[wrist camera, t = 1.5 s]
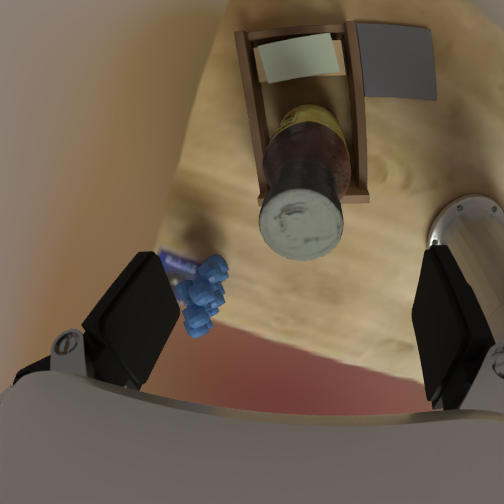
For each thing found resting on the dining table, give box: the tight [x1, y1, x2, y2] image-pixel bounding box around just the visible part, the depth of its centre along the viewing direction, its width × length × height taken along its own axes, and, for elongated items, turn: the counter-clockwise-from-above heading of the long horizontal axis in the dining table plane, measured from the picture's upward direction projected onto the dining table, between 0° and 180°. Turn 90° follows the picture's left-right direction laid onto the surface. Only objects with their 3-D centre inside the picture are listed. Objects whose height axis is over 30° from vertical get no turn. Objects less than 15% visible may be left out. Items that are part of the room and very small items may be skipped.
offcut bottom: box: [253, 40, 346, 82], centre depth 24 cm, size 8×4×4 cm, turn 100°
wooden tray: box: [234, 21, 370, 206], centre depth 26 cm, size 11×17×6 cm, turn 9°
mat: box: [355, 23, 437, 101], centre depth 23 cm, size 8×8×1 cm
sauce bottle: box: [259, 104, 351, 261], centre depth 21 cm, size 7×6×20 cm
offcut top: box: [258, 33, 340, 84], centre depth 21 cm, size 6×4×3 cm, turn 105°
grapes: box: [175, 255, 229, 338], centre depth 37 cm, size 12×7×12 cm, turn 168°
